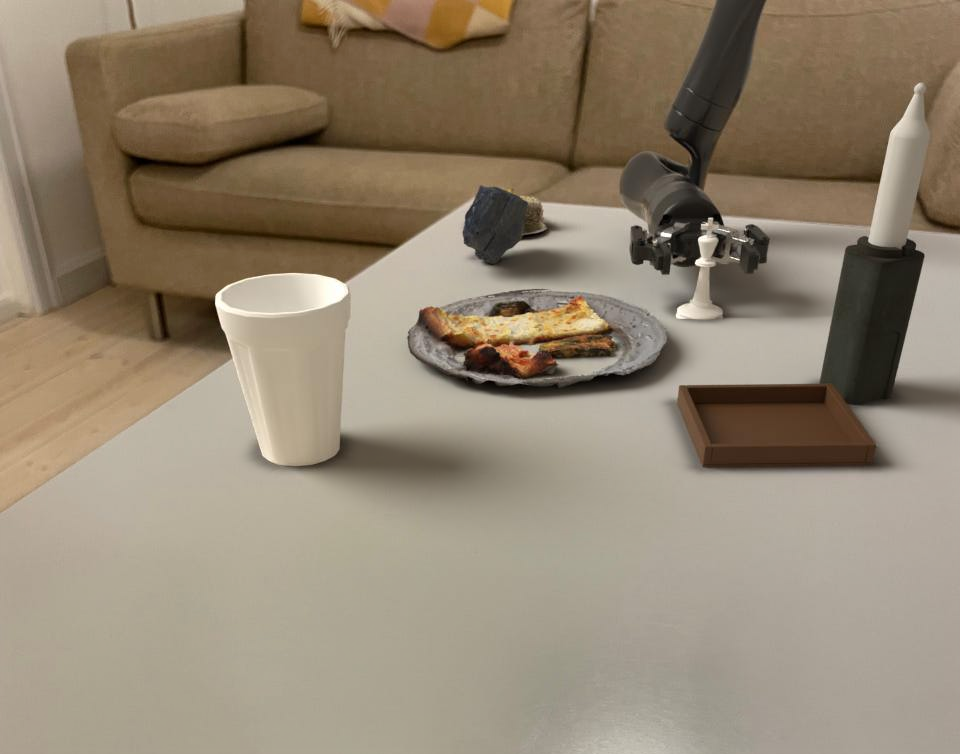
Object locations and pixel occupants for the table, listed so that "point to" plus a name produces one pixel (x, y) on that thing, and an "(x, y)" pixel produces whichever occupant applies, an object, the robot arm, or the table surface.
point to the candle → (880, 274)
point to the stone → (494, 223)
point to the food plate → (534, 335)
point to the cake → (532, 215)
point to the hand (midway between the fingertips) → (709, 264)
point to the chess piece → (703, 281)
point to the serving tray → (773, 426)
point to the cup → (289, 360)
